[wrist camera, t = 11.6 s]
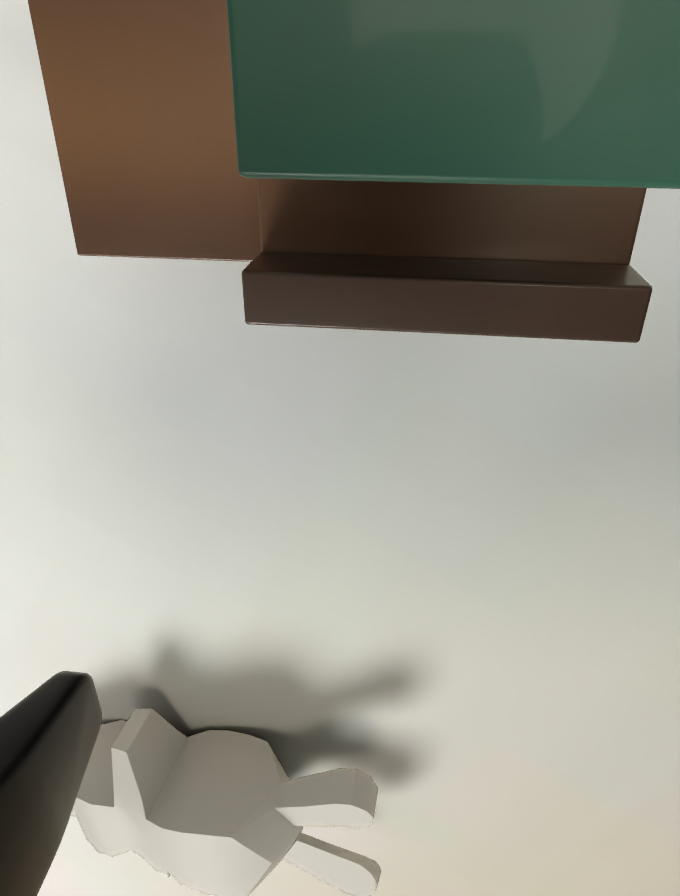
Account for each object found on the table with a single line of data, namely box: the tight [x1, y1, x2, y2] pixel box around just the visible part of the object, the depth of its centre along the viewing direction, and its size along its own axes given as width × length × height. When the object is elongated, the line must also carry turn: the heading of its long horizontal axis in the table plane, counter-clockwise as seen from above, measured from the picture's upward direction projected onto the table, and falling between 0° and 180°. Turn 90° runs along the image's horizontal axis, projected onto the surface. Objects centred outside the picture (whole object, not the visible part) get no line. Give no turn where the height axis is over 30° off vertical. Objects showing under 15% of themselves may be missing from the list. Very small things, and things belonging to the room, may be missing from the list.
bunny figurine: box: [70, 709, 381, 896], centre depth 29 cm, size 10×5×15 cm
